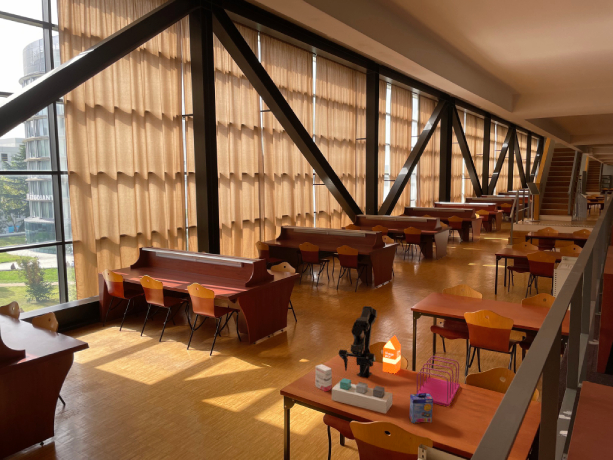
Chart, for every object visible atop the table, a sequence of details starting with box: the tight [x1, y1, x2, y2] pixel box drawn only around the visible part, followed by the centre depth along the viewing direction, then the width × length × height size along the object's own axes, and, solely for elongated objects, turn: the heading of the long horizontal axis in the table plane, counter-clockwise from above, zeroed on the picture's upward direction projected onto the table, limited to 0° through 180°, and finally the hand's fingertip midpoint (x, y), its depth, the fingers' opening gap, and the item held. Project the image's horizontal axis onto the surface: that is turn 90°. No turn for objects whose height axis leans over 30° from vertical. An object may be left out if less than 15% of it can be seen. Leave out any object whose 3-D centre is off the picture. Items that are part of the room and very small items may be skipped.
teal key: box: [339, 377, 352, 390], centre depth 248 cm, size 4×4×4 cm
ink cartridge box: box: [409, 393, 434, 424], centre depth 227 cm, size 10×6×14 cm, turn 95°
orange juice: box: [382, 335, 402, 375], centre depth 281 cm, size 8×9×20 cm
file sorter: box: [416, 355, 461, 407], centre depth 254 cm, size 17×25×16 cm
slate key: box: [355, 381, 369, 394], centre depth 244 cm, size 4×4×4 cm
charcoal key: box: [372, 385, 386, 398], centre depth 240 cm, size 4×4×4 cm
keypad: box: [331, 380, 393, 414], centre depth 245 cm, size 10×29×6 cm, turn 62°
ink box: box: [314, 363, 333, 392], centre depth 260 cm, size 8×5×12 cm, turn 39°
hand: (354, 371), depth 248 cm, fingers open, 9 cm apart
